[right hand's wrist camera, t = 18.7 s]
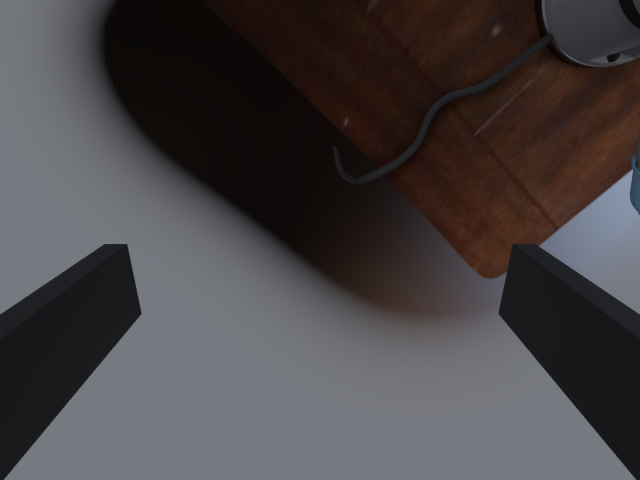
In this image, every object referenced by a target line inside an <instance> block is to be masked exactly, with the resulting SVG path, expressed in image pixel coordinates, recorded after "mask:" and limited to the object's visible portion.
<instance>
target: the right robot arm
mask: <svg viewBox="0 0 640 480" xmlns="http://www.w3.org/2000/svg"><path fill="white" fill-rule="evenodd" d="M535 12H536V19H537V24H538V28H539V30H540V33H541V36H542V39H540V40H539V41H538V42H536V43H535V44H534V45H532V46H531V47H530V48H528V49H527V50H526V51H524V52H523V53H522V54H520V55H519V56H518V57H517V58H515V59H514V60H513V61H511V62H510V63H509V64H508V65H506V66H505V67H504V68H503V69H502V70H500V71H499V72H498V73H496V74H495V75H494V76H492V77H491V78H489V79H487V80H486V81H484V82H482V83H480V84H477V85H474V86H471V87H467V88H463V89H459V90H456V91H453V92H450V93H448V94H446V95H444V96H443V97H441V98H440V99H439V100H438V101H436V102H435V103H434V104H433V105H432V107H431V108H430V109H429V111H428V112H427V114H426V116H425V118H424V120H423V123H422V125H421V128H420V130H419V133H418V135H417V137H416V139H415V141H414V142H413V144H412V145H411V146H410V147H409V148H408V149H407V150H406V151H405V152H404V153H403V154H402V155H401V156H399V157H398V158H397V159H395V160H394V161H392V162H391V163H389V164H387V165H386V166H384V167H382V168H380V169H378V170H376V171H374V172H371V173H369V174H367V175H365V176H363V177H360V178H354V177H352V176H350V175H348V174H346V173H345V172H344V170H343V169H342V167H341V164H340V159H339V154H338V151H337V149H336V147H333V151H334V155H335V162H336V167H337V170H338V172H339V174H340V175H341V177H342V178H343V179H345V180H347V181H348V182H350V183H352V184H354V185H360V184H363V183H366V182H368V181H371V180H373V179H375V178H377V177H379V176H382V175H384V174H386V173H387V172H389V171H391V170H393V169H394V168H396V167H397V166H399V165H400V164H402V163H403V162H404V161H405V160H407V159H408V158H409V157H410V156H411V155H412V154H413V153H414V152H415V151H416V150H417V149H418V147H419V146H420V144H421V143H422V141H423V139H424V137H425V134H426V132H427V129H428V127H429V124H430V122H431V120H432V118H433V116H434V115H435V113H436V112H437V111H438V110H439V109H440V108H441V107H442V106H443V105H444V104H446V103H447V102H449V101H451V100H454V99H456V98H460V97H464V96H468V95H472V94H475V93H478V92H481V91H483V90H485V89H487V88H489V87H491V86H492V85H494V84H495V83H497V82H498V81H500V80H501V79H502V78H504V77H505V76H506V75H508V74H509V73H510V72H511V71H512V70H514V69H515V68H516V67H518V66H519V65H520V64H521V63H523V62H524V61H525V60H527V59H528V58H530V57H531V56H532V55H534V54H535V53H536V52H538V51H539V50H540V49H542V48H543V47H544V46H546V45H547V46H548V47H549V49H550V50H551V51H552V52H553V53H554V54H555V55H556V56H557V57H559V58H560V59H562V60H563V61H565V62H567V63H569V64H572V65H575V66H579V67H585V68H598V67H607V66H614V65H619V64H623V63H626V62H629V61H631V60H634V59H636V58H638V57H640V0H535ZM631 164H632V168H633V176H632V183H631V190H630V200H631V203H632V205H633V207H634V208H635V209H636V210H637V211H638V213H639V214H640V134H639V139H638V144H637V149H636V153H635V154H634V155H633V156H632V161H631ZM140 315H141V309H140V304H139V299H138V294H137V289H136V285H135V280H134V275H133V270H132V265H131V260H130V256H129V251H128V246H127V244H104V245H103V246H101V247H100V248H98V249H97V250H95V251H94V252H92V253H91V254H89V255H88V256H86V257H85V258H83V259H82V260H80V261H79V262H78V263H76V264H75V265H73V266H72V267H70V268H69V269H67V270H66V271H64V272H63V273H61V274H60V275H58V276H57V277H55V278H54V279H52V280H51V281H49V282H48V283H46V284H45V285H43V286H42V287H40V288H39V289H37V290H36V291H35V292H33V293H32V294H30V295H29V296H27V297H26V298H24V299H23V300H21V301H20V302H18V303H17V304H15V305H14V306H12V307H11V308H9V309H8V310H6V311H5V312H3V313H2V314H0V480H4V479H5V477H6V476H7V475H8V474H9V473H10V471H11V470H12V469H13V468H14V467H15V465H16V464H17V463H18V462H19V461H20V459H21V458H22V457H23V456H24V455H25V453H26V452H27V451H28V450H29V449H30V447H31V446H32V445H33V444H34V443H35V441H36V440H37V439H38V438H39V437H40V435H41V434H42V433H43V432H44V431H45V429H46V428H47V427H48V426H49V425H50V423H51V422H52V421H53V420H54V419H55V417H56V416H57V415H58V414H59V412H60V411H61V410H62V409H63V408H64V406H65V405H66V404H67V403H68V402H69V400H70V399H71V398H72V397H73V396H74V394H75V393H76V392H77V391H78V390H79V388H80V387H81V386H82V385H83V384H84V382H85V381H86V380H87V379H88V378H89V376H90V375H91V374H92V373H93V372H94V370H95V369H96V368H97V367H98V366H99V364H100V363H101V362H102V361H103V360H104V358H105V357H106V356H107V355H108V354H109V352H110V351H111V350H112V349H113V348H114V346H115V345H116V344H117V343H118V341H119V340H120V339H121V338H122V337H123V335H124V334H125V333H126V332H127V331H128V329H129V328H130V327H131V326H132V325H133V323H134V322H135V321H136V320H137V319H138V317H139V316H140ZM499 315H500V316H501V317H502V319H503V320H504V321H505V322H506V323H507V325H508V326H509V327H510V328H511V329H512V331H513V332H514V333H515V334H516V335H517V337H518V338H519V339H520V340H521V341H522V343H523V344H524V345H525V346H526V348H527V349H528V350H529V351H530V352H531V354H532V355H533V356H534V357H535V358H536V360H537V361H538V362H539V363H540V364H541V366H542V367H543V368H544V369H545V370H546V372H547V373H548V374H549V375H550V376H551V378H552V379H553V380H554V381H555V382H556V384H557V385H558V386H559V387H560V388H561V390H562V391H563V392H564V393H565V394H566V396H567V397H568V398H569V399H570V400H571V402H572V403H573V404H574V405H575V406H576V408H577V409H578V410H579V411H580V413H581V414H582V415H583V416H584V417H585V418H586V420H587V421H588V422H589V423H590V425H591V426H592V427H593V428H594V429H595V431H596V432H597V433H598V434H599V435H600V437H601V438H602V439H603V440H604V441H605V443H606V444H607V445H608V446H609V447H610V449H611V450H612V451H613V452H614V453H615V455H616V456H617V457H618V458H619V459H620V461H621V462H622V463H623V464H624V465H625V467H626V468H627V469H628V470H629V471H630V473H631V474H632V475H633V476H634V477H635V479H636V480H640V314H638V313H637V312H635V311H634V310H632V309H631V308H629V307H628V306H626V305H625V304H623V303H622V302H620V301H619V300H617V299H616V298H614V297H613V296H611V295H610V294H609V293H607V292H605V291H604V290H603V289H601V288H600V287H598V286H597V285H595V284H594V283H592V282H591V281H589V280H588V279H586V278H585V277H583V276H582V275H580V274H579V273H577V272H576V271H574V270H573V269H571V268H570V267H568V266H567V265H565V264H564V263H562V262H561V261H560V260H558V259H557V258H555V257H554V256H552V255H551V254H549V253H548V252H546V251H545V250H543V249H542V248H540V247H539V246H537V245H536V244H513V246H512V251H511V256H510V260H509V265H508V270H507V275H506V280H505V285H504V289H503V294H502V299H501V304H500V309H499Z"/></svg>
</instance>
